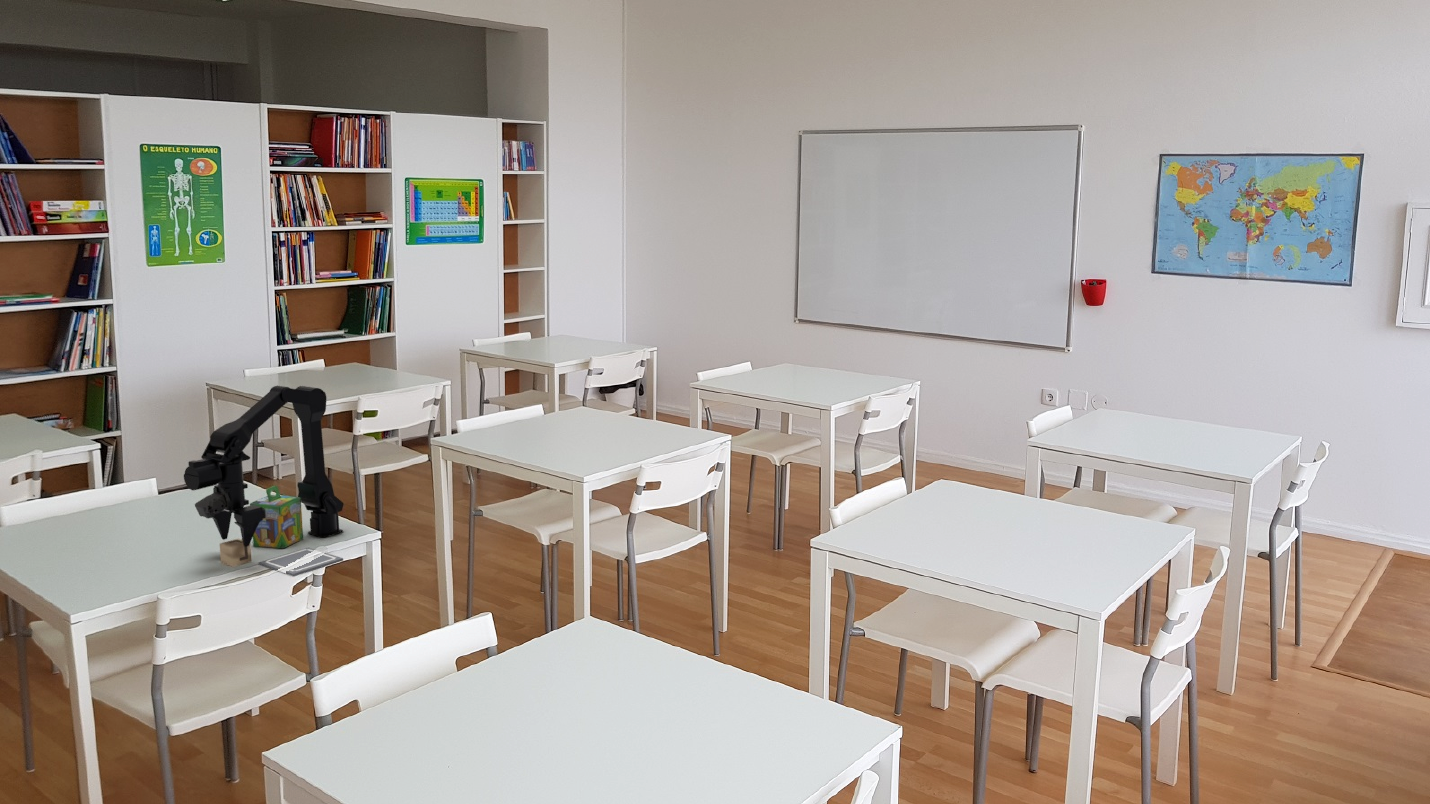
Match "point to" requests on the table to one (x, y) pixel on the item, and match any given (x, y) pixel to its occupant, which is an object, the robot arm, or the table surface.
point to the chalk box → (278, 520)
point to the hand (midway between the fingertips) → (235, 542)
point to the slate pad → (293, 556)
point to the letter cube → (235, 553)
